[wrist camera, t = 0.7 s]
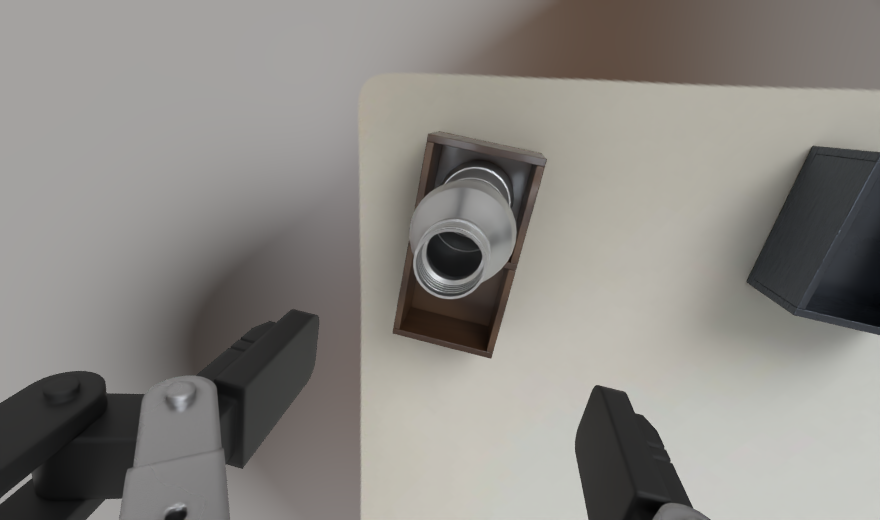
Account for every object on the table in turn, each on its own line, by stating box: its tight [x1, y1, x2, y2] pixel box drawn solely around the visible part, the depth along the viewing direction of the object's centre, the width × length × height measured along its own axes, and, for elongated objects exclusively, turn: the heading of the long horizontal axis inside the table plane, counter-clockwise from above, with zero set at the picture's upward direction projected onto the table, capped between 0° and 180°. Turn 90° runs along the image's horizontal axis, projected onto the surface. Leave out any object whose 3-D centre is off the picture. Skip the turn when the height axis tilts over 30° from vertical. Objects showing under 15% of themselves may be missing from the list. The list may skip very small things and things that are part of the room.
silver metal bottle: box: [409, 161, 517, 299], centre depth 30 cm, size 6×7×20 cm
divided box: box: [393, 131, 547, 358], centre depth 39 cm, size 18×9×5 cm, turn 169°
